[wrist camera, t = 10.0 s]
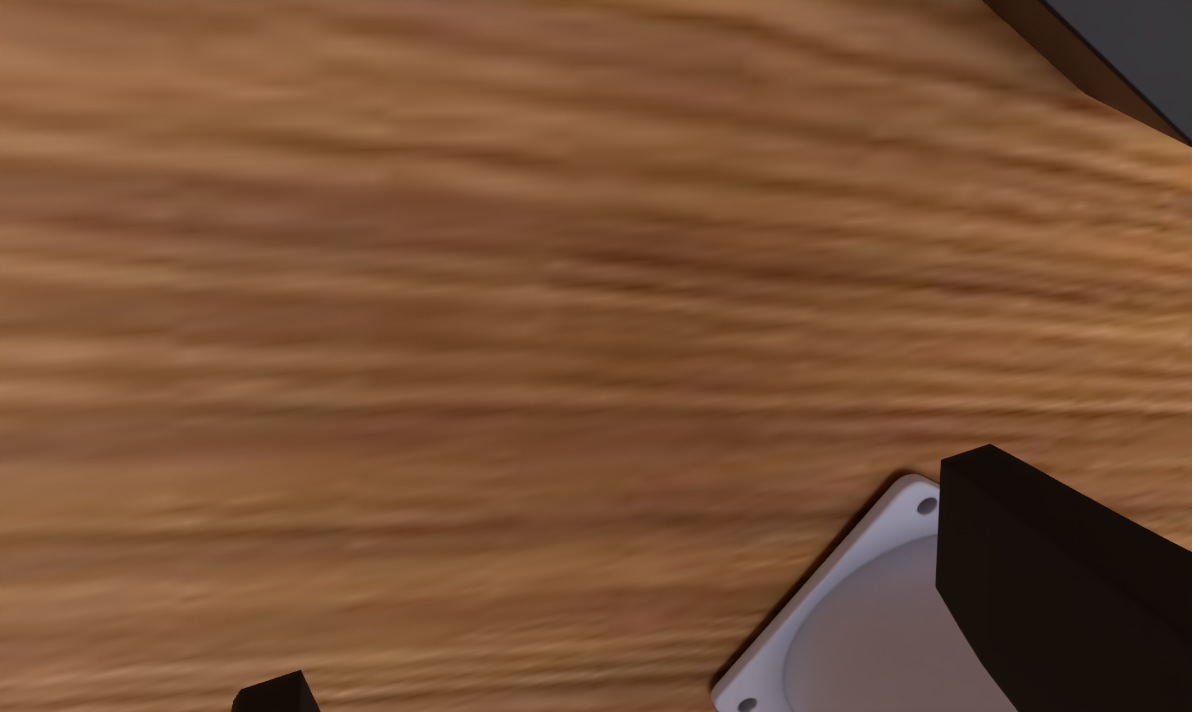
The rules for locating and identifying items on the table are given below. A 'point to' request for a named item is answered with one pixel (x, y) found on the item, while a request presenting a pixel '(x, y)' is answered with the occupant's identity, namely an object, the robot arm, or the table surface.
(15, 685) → the table surface
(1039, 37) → the hob panel
